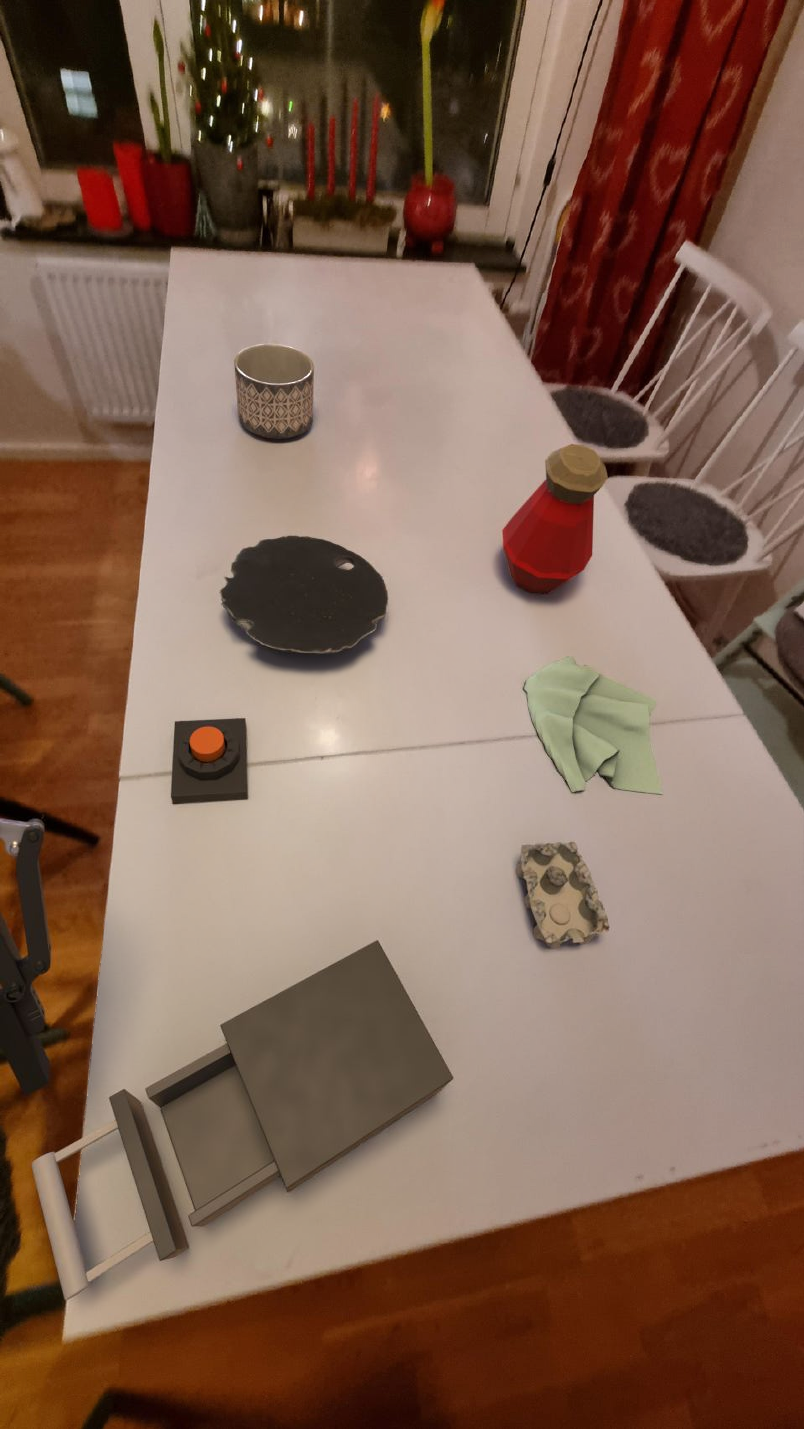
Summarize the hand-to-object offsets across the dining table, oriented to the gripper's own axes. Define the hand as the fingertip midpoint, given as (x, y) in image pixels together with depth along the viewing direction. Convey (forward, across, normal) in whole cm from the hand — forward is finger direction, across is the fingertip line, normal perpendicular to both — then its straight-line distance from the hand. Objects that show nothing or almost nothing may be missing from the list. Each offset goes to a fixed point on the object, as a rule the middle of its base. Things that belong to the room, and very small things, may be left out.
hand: (37, 1078), depth 47 cm
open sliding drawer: (+15, -6, -4) cm, 17 cm away
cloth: (+2, -66, -18) cm, 69 cm away
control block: (-9, -21, -30) cm, 38 cm away
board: (-21, -41, -42) cm, 62 cm away
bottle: (-17, -77, -38) cm, 87 cm away
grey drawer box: (+16, -19, -5) cm, 25 cm away
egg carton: (+13, -47, -8) cm, 50 cm away
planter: (-52, -56, -73) cm, 105 cm away
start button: (-11, -21, -28) cm, 37 cm away
